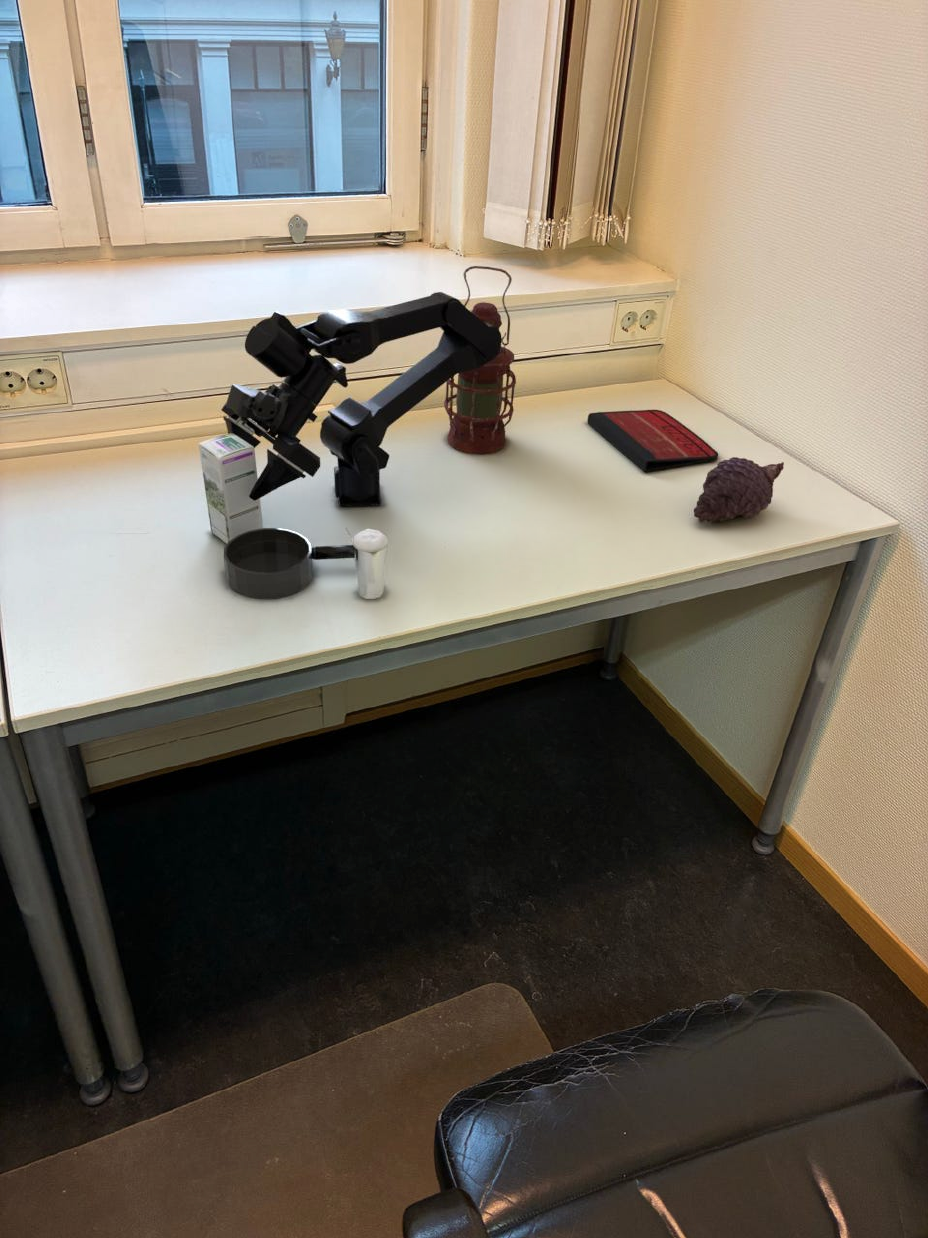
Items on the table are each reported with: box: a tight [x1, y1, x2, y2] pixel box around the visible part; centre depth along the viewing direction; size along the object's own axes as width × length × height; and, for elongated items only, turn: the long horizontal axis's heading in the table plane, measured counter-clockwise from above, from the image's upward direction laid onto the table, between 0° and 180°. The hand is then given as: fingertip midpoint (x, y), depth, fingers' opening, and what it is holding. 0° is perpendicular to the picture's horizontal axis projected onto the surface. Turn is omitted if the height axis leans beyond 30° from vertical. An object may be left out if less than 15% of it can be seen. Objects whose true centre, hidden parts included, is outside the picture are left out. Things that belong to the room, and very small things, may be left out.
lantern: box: [443, 265, 517, 455], centre depth 154 cm, size 12×12×30 cm
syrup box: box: [198, 433, 264, 545], centre depth 129 cm, size 6×6×14 cm
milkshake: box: [345, 527, 389, 600], centre depth 120 cm, size 4×5×10 cm
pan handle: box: [312, 544, 355, 561], centre depth 125 cm, size 10×2×2 cm, turn 99°
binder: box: [586, 409, 719, 473], centre depth 166 cm, size 16×2×21 cm
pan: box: [222, 527, 314, 600], centre depth 125 cm, size 12×12×4 cm
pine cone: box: [693, 456, 785, 523], centre depth 144 cm, size 18×10×10 cm
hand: (235, 485), depth 129 cm, fingers open, 9 cm apart
